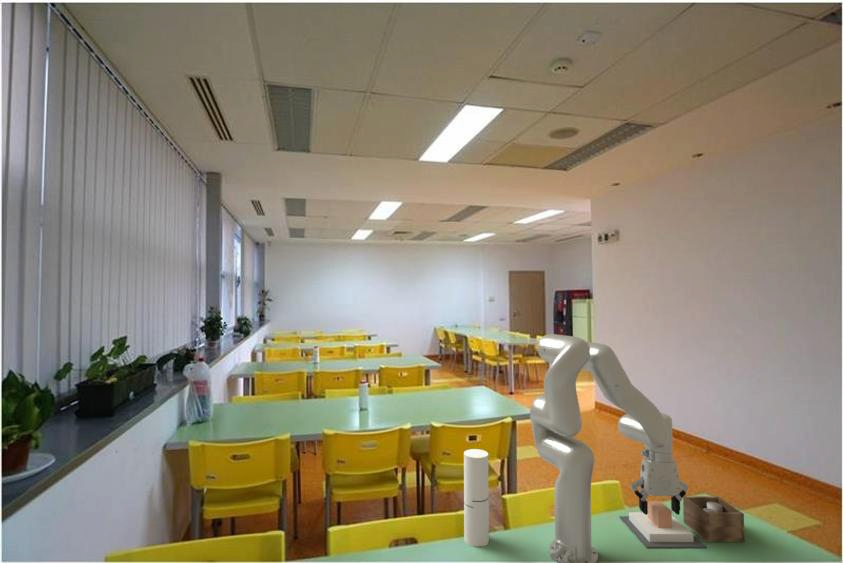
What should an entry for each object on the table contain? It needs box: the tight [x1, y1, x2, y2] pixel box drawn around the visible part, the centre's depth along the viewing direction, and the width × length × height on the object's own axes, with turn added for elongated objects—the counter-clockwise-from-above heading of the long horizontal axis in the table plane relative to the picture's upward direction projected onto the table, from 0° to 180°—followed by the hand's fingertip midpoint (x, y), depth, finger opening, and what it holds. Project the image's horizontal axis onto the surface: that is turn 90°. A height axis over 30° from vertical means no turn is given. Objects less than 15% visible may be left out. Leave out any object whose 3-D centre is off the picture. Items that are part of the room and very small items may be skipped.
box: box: [682, 495, 745, 543], centre depth 132 cm, size 11×11×8 cm
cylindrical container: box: [463, 448, 490, 547], centre depth 128 cm, size 7×7×25 cm
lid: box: [628, 500, 694, 542], centre depth 132 cm, size 13×13×7 cm
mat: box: [618, 515, 707, 549], centre depth 132 cm, size 17×17×1 cm
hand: (659, 512), depth 132 cm, fingers open, 9 cm apart
